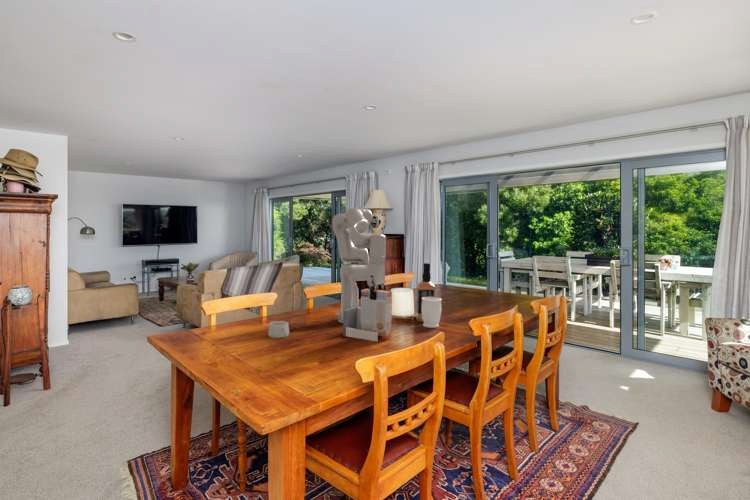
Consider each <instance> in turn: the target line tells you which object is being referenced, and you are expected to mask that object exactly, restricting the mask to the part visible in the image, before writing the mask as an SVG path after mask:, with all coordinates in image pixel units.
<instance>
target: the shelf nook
mask: <svg viewBox="0 0 750 500" xmlns="http://www.w3.org/2000/svg"><path fill="white" fill-rule="evenodd" d="M342 324H343V326H342V330H343V331H342V335H343V337H347V338H348V337H349V338H353V339H354V338H355V339H360V340H365V341H371V342H372V341H373V342H378V341H379V336H378V332H372V331H366V330H360V326H361V306H358V307H353V308H351V309H348V310H345V311H344V314H343V323H342Z"/></svg>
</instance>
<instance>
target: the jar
mask: <svg viewBox="0 0 750 500" xmlns="http://www.w3.org/2000/svg"><path fill="white" fill-rule="evenodd" d="M422 301H423V302H422V308H421V311H422V319H423V321H422V322H423V324H422V326H423V327H424V328H428V329H437V328H439V327H440V325H439V323H440V321H441V315H442V303H441V302H442V298H441V297H437V296H434V297H423V298H422Z"/></svg>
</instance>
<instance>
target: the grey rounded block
mask: <svg viewBox="0 0 750 500" xmlns="http://www.w3.org/2000/svg"><path fill="white" fill-rule="evenodd" d="M267 334H268V335H267V336H269V337H270V338H273V339H283V338H287V337H289V336H290V326H289V322H287V321H285V320H278V321H277V320H276V321H271V322H270V323H269V325H268V332H267Z"/></svg>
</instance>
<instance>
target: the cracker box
mask: <svg viewBox="0 0 750 500" xmlns="http://www.w3.org/2000/svg"><path fill="white" fill-rule="evenodd" d="M376 291H377V295H376V300H371V299H370V290H369V288H364V289H360V293H361V295H360V307H361V326H360V330H366V331H372V332H378V337H383V338H387V337H389V336H391V335H392V312H393V310H392V308H393V291H391V290H384V289H383V290H377V289H376Z"/></svg>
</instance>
